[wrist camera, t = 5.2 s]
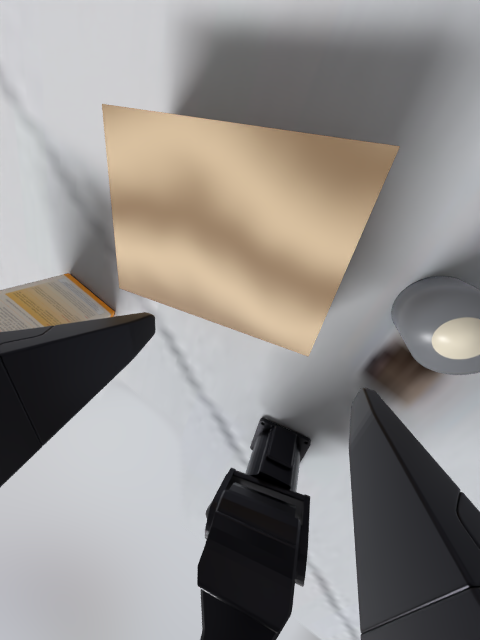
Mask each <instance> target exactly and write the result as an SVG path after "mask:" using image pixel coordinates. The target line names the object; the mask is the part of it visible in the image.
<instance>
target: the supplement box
mask: <svg viewBox="0 0 480 640" xmlns="http://www.w3.org/2000/svg"><path fill="white" fill-rule="evenodd" d="M114 314H115V311H113V310H112V309H111V308H110V307H108V306H107V305H106V304H105V303H104V302H103V301H101V300H100V299H99V298H98V297H96V296H95V295H94V294H93V293H92V292H90V291H89V290H88V289H87V288H86V287H84V286H83V285H82V284H81V283H80V282H79V281H77V280H76V279H75V278H74V277H73V276H71V275H70V274H64V275H60V276H56V277H52V278H48V279H44V280H40V281H36V282H32V283H27V284H24V285H20V286H16V287H12V288H8V289H4V290H0V332H5V331H14V330H23V329H31V328H38V327H46V326H55V325H60V324H67V323H74V322H81V321H88V320H95V319H102V318H109V317H114Z"/></svg>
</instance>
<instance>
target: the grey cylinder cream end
mask: <svg viewBox="0 0 480 640" xmlns="http://www.w3.org/2000/svg"><path fill="white" fill-rule="evenodd" d="M392 320H393V323H394V324H395V326H396V328H397V330H398V331H399V333H400V335H401V337H402V338H403V340H404V342H405V344H406V345H407V347H408V349H409V351H410V352H411V354H412V356H413V357H414V358H415V360H416V361H417V362H419V363H420V364H421V365H423V366H424V367H426V368H428V369H430V370H433V371H435V372H439V373H444V374H451V375H466V374H474V373H478V372H480V290H479V289H477V288H475V287H473V286H471V285H470V284H468V283H466V282H464V281H462V280H460V279H456V278H452V277H444V276H441V277H431V278H426V279H423V280H420V281H418V282H415V283H413V284H412V285H410V286H408V287H407V288H406V289H404V290H403V291H402V292H401V293H400V294H399V295H398V297H397V298H396V300H395V302H394V304H393V307H392Z"/></svg>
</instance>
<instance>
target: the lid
mask: <svg viewBox="0 0 480 640" xmlns="http://www.w3.org/2000/svg"><path fill="white" fill-rule="evenodd" d="M102 110H103V121H104V131H105V142H106V152H107V163H108V174H109V184H110V195H111V205H112V216H113V226H114V237H115V247H116V258H117V268H118V279H119V288H120V289H123V290H126V291H129V292H131V293H134V294H137V295H140V296H142V297H145V298H148V299H151V300H154V301H156V302H159V303H162V304H165V305H167V306H170V307H173V308H176V309H178V310H181V311H184V312H187V313H189V314H192V315H195V316H198V317H201V318H203V319H206V320H209V321H212V322H214V323H217V324H220V325H223V326H225V327H228V328H231V329H234V330H237V331H239V332H242V333H245V334H248V335H250V336H253V337H256V338H259V339H261V340H264V341H267V342H270V343H272V344H275V345H278V346H281V347H284V348H286V349H289V350H292V351H295V352H297V353H300V354H303V355H306V356H309V354H310V352H311V350H312V347H313V345H314V343H315V340H316V338H317V336H318V333H319V331H320V329H321V327H322V324H323V322H324V320H325V317H326V315H327V313H328V310H329V308H330V306H331V304H332V301H333V299H334V297H335V294H336V292H337V290H338V287H339V285H340V283H341V281H342V278H343V276H344V274H345V271H346V269H347V267H348V264H349V262H350V260H351V258H352V255H353V253H354V251H355V248H356V246H357V244H358V241H359V239H360V237H361V235H362V232H363V230H364V228H365V225H366V223H367V221H368V218H369V216H370V214H371V212H372V209H373V207H374V205H375V202H376V200H377V198H378V195H379V193H380V191H381V189H382V186H383V184H384V182H385V179H386V177H387V175H388V172H389V170H390V168H391V166H392V163H393V161H394V159H395V156H396V154H397V152H398V149H399V147H400V146H394V145H387V144H379V143H372V142H365V141H358V140H351V139H344V138H337V137H330V136H323V135H316V134H309V133H302V132H295V131H288V130H281V129H274V128H267V127H260V126H253V125H246V124H239V123H232V122H225V121H218V120H211V119H204V118H197V117H190V116H183V115H176V114H169V113H162V112H155V111H148V110H141V109H134V108H127V107H120V106H113V105H106V104H102Z"/></svg>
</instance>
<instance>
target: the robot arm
mask: <svg viewBox="0 0 480 640" xmlns="http://www.w3.org/2000/svg"><path fill="white" fill-rule="evenodd" d="M154 334H155V317H154V315H152V314H149V313H146V312H144V313H137V314H130V315H123V316H116V317H109V318H102V319H95V320H88V321H81V322H74V323H67V324H60V325H55V326H46V327H38V328H31V329H23V330H14V331H5V332H0V487H1V486H2V485H3V484H4V483H5V482H6V481H7V480H8V479H9V478H10V477H11V476H12V475H13V474H15V472H17V471H18V470H19V469H20V468H21V467H22V466H23V465H24V464H25V463H26V462H27V461H28V460H29V459H30V458H31V457H32V456H33V455H34V454H35V453H36V452H37V451H38V450H39V449H40V448H41V447H42V446H43V445H44V444H45V443H47V441H49V440H50V439H51V438H52V437H53V436H54V435H55V434H56V433H57V432H58V431H59V430H60V429H61V428H62V427H63V426H64V425H65V424H66V423H67V422H68V421H69V420H70V419H71V418H73V416H75V415H76V414H77V413H78V412H79V411H80V410H81V409H82V408H83V407H84V406H85V405H86V404H87V403H88V402H89V401H90V400H91V399H92V398H93V397H94V396H95V395H96V394H98V393H99V392H100V391H101V390H102V389H103V388H104V387H105V386H106V385H107V384H108V383H109V382H110V381H111V380H112V379H113V378H114V377H115V376H116V375H117V374H118V373H119V372H120V371H121V370H122V369H124V368H125V367H126V366H127V365H128V364H129V363H130V362H131V361H132V360H133V359H134V358H135V356H136V355H137V354H138V353H139V352H140V351H141V349H142V348H143V347H144V346H145V345H146V344H147V342H148V341H149V340H150V339H151V338H152V337H153V335H154ZM310 444H311V440H310V439H309V438H307V437H305V436H303V435H300V434H298V433H296V432H294V431H291V430H289V429H287V428H285V427H282V426H280V425H278V424H275V423H273V422H271V421H269V420H266V419H264V418H261V419H260V421H259V424H258V427H257V430H256V432H255V435H254V438H253V441H252V443H251V446H250V448H251V449H252V450H253V452H252V455H251V458H250V461H249V464H248V467H247V470H246V473H242V472H239V471H236V469H234V468H231V469H230V470H229V472H228V474H226V476H225V478H224V480H223V482H222V484H221V486H220V488H219V489H218V491H217V493H216V495H215V497H214V499H213V501H212V503H211V504H210V505H209V507H208V508H207V511H206V517H207V523H206V529H205V538H206V539H207V541H206V544H205V547H204V550H203V553H202V556H201V558H200V561H199V564H198V588H200V589H201V607H202V627H203V630H202V636H201V640H276V639H277V637H278V636H279V634H280V632H281V631H282V629H283V627H284V626H285V624H286V622H287V620H288V619H289V617H290V615H291V612H292V605H293V595H294V586H295V583H296V584H298V585H300V586H302V587H303V586H304V580H305V572H306V562H307V550H308V533H309V509H310V496H308V495H302V494H299V493H297V492H296V489H297V480H298V472H299V464H300V462H301V460H302V458H303V456H304V455H305V453H306V451H307V450H308V448H309V446H310ZM349 458H350V474H351V489H352V505H353V520H354V536H355V551H356V567H357V583H358V598H359V614H360V629H361V633H362V634H361V640H480V512H479V510H478V509H477V508H476V507H475V506H474V505H473V504H472V502H471V501H470V500H469V499H468V498H467V497H466V495H465V494H464V493H463V492H460V489H459V487H458V486H457V485H456V484H455V483H454V482H453V481H452V479H451V478H450V477H449V476H448V475H447V474H446V472H445V471H444V470H443V469H442V468H441V467H440V466H439V464H438V463H437V462H436V461H435V460H434V459H433V457H432V456H431V455H430V454H429V453H428V452H427V451H426V449H425V448H424V447H423V446H422V445H421V444H420V442H419V441H418V440H417V439H416V438H415V437H414V436H413V434H412V433H411V432H410V431H409V430H408V429H407V427H406V426H405V425H404V424H403V423H402V422H401V420H400V419H399V418H398V417H397V416H396V415H395V414H394V412H393V411H392V410H391V409H390V408H389V407H388V405H387V404H386V403H385V402H384V401H383V400H382V399H381V397H380V396H379V395H378V394H377V393H376V392H375V391H374V390H371V389H368V388H365V387H363V388H361V389H360V391H359V392H358V394H357V396H356V398H355V399H354V401H353V403H352V406H351V419H350V436H349Z"/></svg>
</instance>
